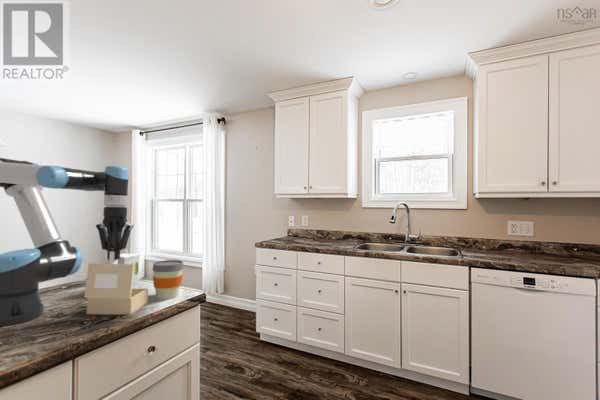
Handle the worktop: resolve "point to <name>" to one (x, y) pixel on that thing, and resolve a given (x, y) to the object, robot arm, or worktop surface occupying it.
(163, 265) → the reusable coffee cup
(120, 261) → the supplement box
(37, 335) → the worktop surface
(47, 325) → the worktop surface
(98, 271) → the lid
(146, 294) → the mailer
